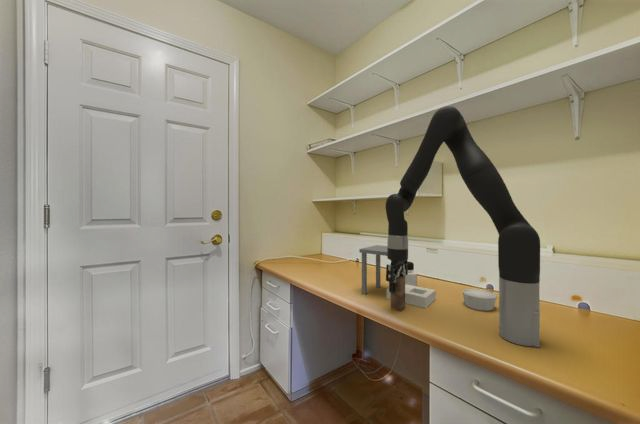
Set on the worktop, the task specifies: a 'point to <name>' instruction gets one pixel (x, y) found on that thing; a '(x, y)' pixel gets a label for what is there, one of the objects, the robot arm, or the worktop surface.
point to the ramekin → (479, 299)
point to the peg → (398, 295)
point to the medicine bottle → (411, 275)
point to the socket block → (417, 296)
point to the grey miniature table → (378, 251)
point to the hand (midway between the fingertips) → (397, 289)
